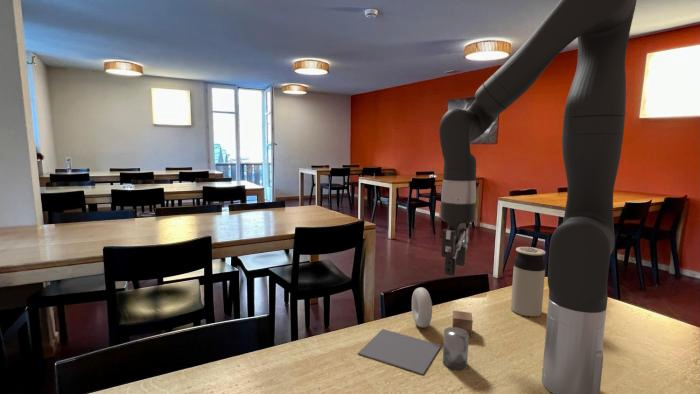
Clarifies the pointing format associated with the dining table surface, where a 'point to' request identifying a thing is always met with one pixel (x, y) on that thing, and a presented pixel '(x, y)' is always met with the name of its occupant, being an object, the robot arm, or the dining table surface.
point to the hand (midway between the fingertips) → (455, 269)
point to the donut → (421, 307)
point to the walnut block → (463, 321)
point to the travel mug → (528, 281)
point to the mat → (401, 351)
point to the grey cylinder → (455, 348)
